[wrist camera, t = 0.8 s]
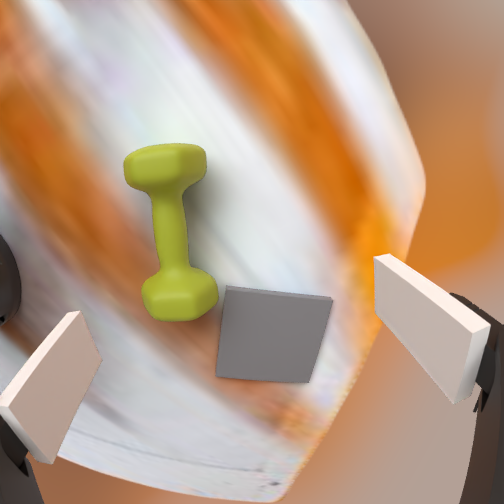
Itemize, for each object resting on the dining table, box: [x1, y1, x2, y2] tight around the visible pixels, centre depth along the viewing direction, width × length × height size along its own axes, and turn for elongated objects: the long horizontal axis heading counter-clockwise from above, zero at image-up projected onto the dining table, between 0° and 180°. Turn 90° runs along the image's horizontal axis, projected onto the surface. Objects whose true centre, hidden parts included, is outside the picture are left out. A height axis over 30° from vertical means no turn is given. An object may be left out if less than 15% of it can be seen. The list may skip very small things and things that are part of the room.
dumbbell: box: [123, 143, 219, 322], centre depth 29 cm, size 16×8×7 cm, turn 3°
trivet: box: [215, 286, 333, 383], centre depth 36 cm, size 12×12×1 cm
